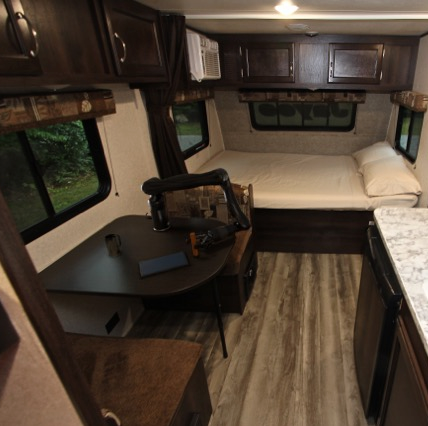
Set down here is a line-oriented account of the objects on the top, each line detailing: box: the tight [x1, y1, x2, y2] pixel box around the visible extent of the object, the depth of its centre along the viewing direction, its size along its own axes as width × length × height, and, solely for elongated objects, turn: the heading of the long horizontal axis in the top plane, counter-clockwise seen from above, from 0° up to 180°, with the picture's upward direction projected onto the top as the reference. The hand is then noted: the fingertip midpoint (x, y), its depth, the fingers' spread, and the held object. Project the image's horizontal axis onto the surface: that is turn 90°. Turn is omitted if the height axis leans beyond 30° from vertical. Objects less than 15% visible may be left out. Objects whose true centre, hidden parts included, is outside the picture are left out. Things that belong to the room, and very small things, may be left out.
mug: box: [104, 233, 122, 258], centre depth 156 cm, size 8×6×12 cm
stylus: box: [189, 232, 199, 258], centre depth 155 cm, size 2×2×14 cm
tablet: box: [138, 250, 190, 279], centre depth 150 cm, size 14×22×1 cm, turn 120°
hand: (190, 244), depth 153 cm, fingers open, 8 cm apart
